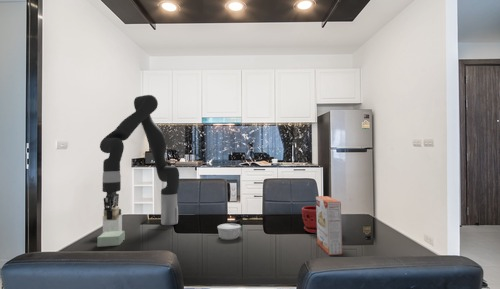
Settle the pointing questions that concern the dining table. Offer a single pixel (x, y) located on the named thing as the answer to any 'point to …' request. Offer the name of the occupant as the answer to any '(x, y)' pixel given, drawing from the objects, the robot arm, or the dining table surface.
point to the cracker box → (329, 225)
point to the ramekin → (229, 231)
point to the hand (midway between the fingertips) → (111, 217)
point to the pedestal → (111, 238)
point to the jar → (113, 224)
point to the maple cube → (114, 213)
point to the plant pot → (312, 221)
